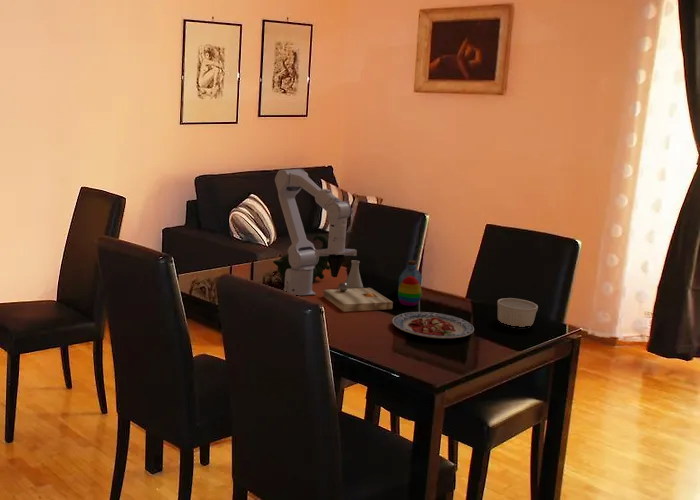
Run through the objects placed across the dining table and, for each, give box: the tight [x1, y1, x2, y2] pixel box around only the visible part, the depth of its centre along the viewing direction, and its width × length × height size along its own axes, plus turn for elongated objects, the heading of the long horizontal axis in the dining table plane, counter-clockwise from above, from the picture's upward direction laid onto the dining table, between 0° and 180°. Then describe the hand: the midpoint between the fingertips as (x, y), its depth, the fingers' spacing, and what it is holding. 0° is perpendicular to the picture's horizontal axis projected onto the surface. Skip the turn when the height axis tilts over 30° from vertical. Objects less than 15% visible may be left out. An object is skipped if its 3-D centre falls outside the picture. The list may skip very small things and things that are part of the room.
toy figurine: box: [272, 233, 330, 284], centre depth 298 cm, size 9×19×25 cm
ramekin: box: [496, 297, 539, 327], centre depth 268 cm, size 13×13×7 cm
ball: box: [338, 281, 348, 292], centre depth 281 cm, size 3×3×3 cm
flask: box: [344, 259, 364, 289], centre depth 297 cm, size 7×7×10 cm
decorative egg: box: [397, 276, 422, 307], centre depth 281 cm, size 8×8×10 cm
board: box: [322, 287, 394, 313], centre depth 278 cm, size 18×18×2 cm
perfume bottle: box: [397, 259, 422, 290], centre depth 295 cm, size 6×6×12 cm
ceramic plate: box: [391, 311, 475, 340], centre depth 254 cm, size 26×26×3 cm
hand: (334, 276), depth 273 cm, fingers closed
